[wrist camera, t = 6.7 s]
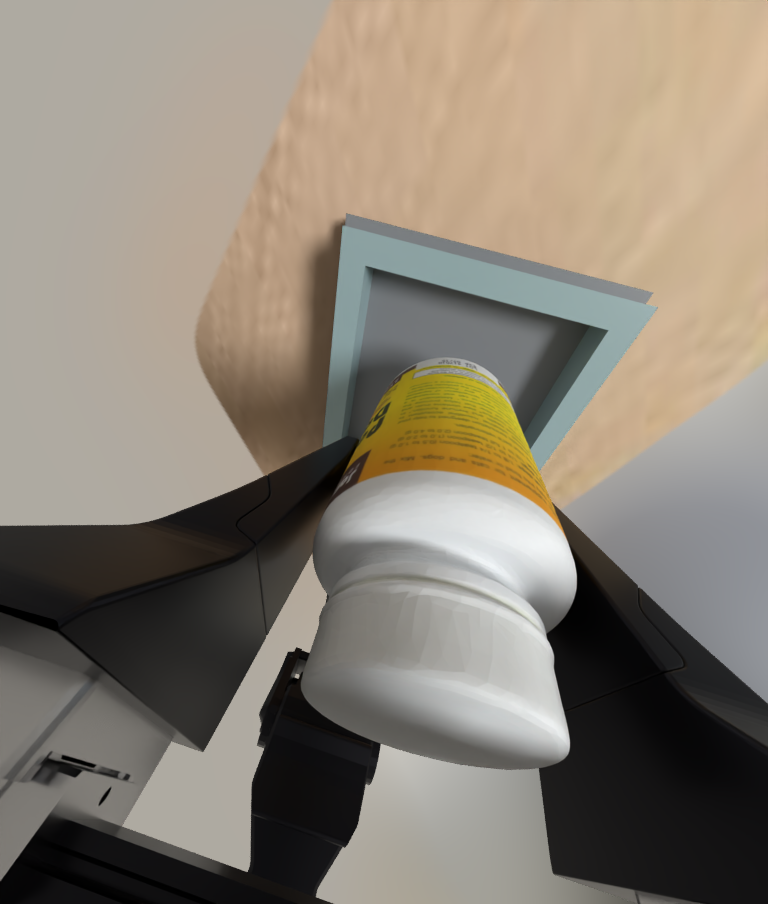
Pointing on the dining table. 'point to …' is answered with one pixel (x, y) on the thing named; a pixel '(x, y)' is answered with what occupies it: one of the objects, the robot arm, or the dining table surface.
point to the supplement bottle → (443, 580)
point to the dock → (472, 327)
